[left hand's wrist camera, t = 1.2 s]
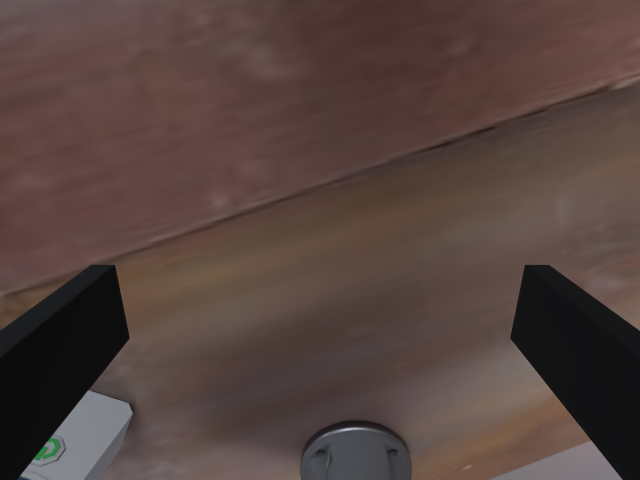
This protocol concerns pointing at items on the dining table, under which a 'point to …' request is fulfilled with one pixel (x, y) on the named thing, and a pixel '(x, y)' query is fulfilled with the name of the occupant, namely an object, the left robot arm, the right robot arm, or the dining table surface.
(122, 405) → the electronic device
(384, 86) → the dining table surface
